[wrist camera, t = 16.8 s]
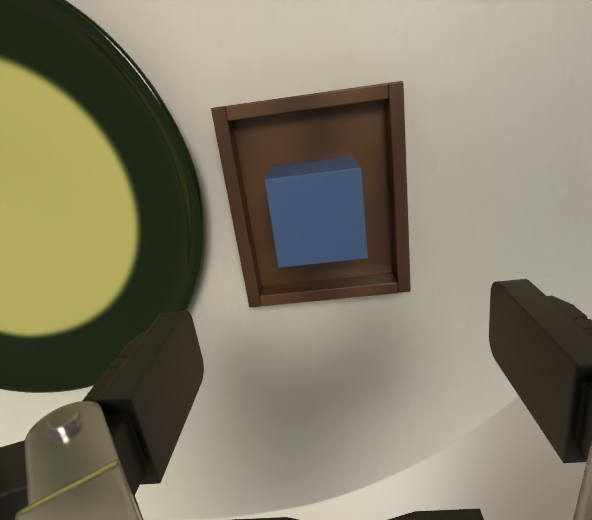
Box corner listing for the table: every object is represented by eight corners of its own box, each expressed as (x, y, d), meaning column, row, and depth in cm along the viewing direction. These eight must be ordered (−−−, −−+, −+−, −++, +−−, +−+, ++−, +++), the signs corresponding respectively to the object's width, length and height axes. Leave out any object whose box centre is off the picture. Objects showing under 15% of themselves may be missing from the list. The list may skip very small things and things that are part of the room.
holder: (395, 82, 24) (403, 80, 22) (403, 276, 29) (410, 292, 27) (220, 107, 25) (210, 108, 23) (254, 291, 30) (249, 307, 28)
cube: (353, 155, 25) (361, 167, 21) (359, 233, 27) (368, 258, 23) (272, 165, 26) (264, 179, 21) (284, 241, 27) (278, 268, 23)
